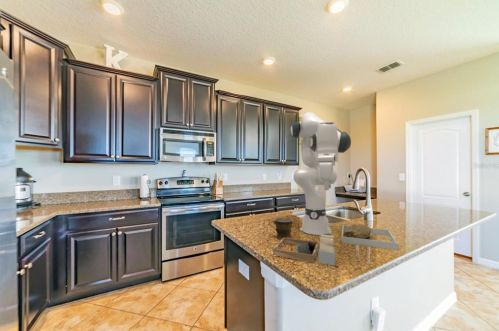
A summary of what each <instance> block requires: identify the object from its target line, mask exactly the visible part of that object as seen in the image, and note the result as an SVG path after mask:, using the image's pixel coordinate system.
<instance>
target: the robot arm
mask: <svg viewBox="0 0 499 331" xmlns="http://www.w3.org/2000/svg"><path fill="white" fill-rule="evenodd" d="M290 134H291V136H292V137H293V138H294V139H301V140H300V154H301V158H302V159H301V160H302V163H303V164H304V166H306V167H301V168H296V169H295V171H294V172H293V176H292V177H293V181H294V182H295V183H296V185H298V186H299V187H300V188H301V189H302V191H303V193H304V198H305V208H304V216H302V226H301V227H299V231H301V232H304V233H305V234H309V235H317V236H321V235H331V234H333V231H332V228H331V227H330V223H329V219H328V217H327V216H326V214H327V213H326V212H327V211H326V210H327V209H326V207H325V206H326V203H325V202H326V201H325V200H326V198H325V195H324V193H322V192H321V191H319V190H316V186H323V188H324V191H329V190H330V189H331V188H332V187H331V185H333V184H335V183H336V181H337V178H338V175H337V172H336V170H335V169H334V166H336V163H339V153H340V154H342V153H343V154H344V153H345V152H347V151H348V150H349V149H350V148H351V146H352V139H351V136H350V135H349V134H348V132H346V131H341V130H340V129H339V128H338V127H337V124H336V122H334V121H333V122H332V121H331V122H329V121H325V120H324V119H322V118H321V117H320V116H319V115H317V114H316V113H314V112H312V111H308V112H307V111H306V112H305V113H303V114H302V116H301V120H300V121H298V120H297V121H296V122H293V123H292V124H291V126H290Z"/></svg>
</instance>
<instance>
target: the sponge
mask: <svg viewBox="0 0 499 331" xmlns="http://www.w3.org/2000/svg"><path fill="white" fill-rule="evenodd" d="M349 226H350V227H349V229H348V230H347V231H344V233H343V237H351V238H359V239H368V238H369V237H370V236H371V229H370V228H371V227H370V226H368V225H366V224H357V223H356V224H354V223H353V224H352V225H349Z"/></svg>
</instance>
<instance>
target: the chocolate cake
mask: <svg viewBox="0 0 499 331" xmlns="http://www.w3.org/2000/svg"><path fill="white" fill-rule="evenodd" d="M307 241H308V242H307V243H306V244H298V245H296V246H295V252H298V253H304V254H310V255H312V254H313V252H314V249H315V247H316V246H315V244H313V243H311V242H310V241H311V240H307Z"/></svg>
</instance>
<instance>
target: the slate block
mask: <svg viewBox="0 0 499 331" xmlns="http://www.w3.org/2000/svg"><path fill="white" fill-rule="evenodd" d="M317 255H318V264H320V263H323V264H322V265H326V264H328V266H331V265H334V266H333V267H335V265H336V247H334V251H333V252H326V251H320V247H319V250H318V253H317Z"/></svg>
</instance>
